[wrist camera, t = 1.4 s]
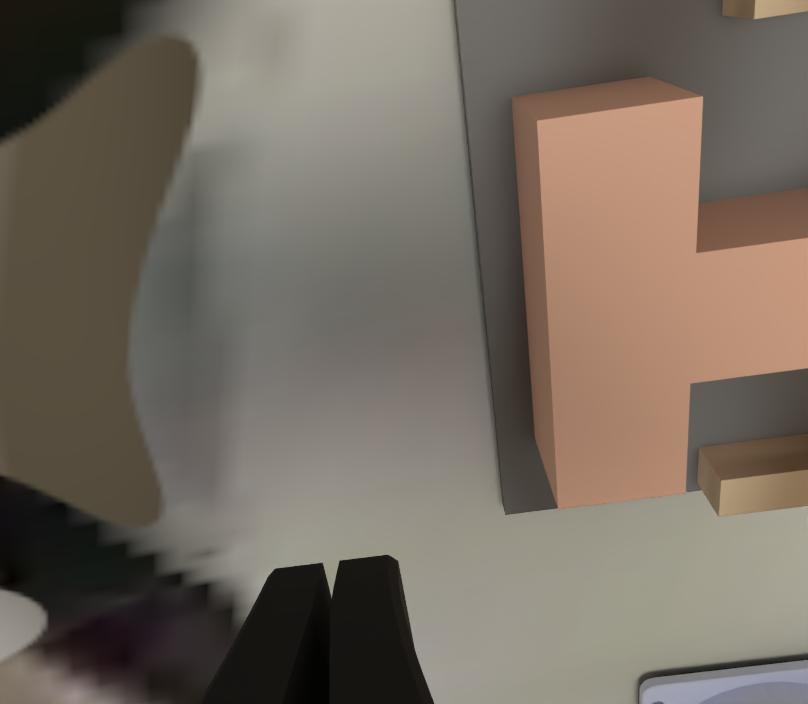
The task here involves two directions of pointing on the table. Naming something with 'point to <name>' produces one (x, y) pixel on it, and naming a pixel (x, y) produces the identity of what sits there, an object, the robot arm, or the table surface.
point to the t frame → (719, 180)
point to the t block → (642, 283)
